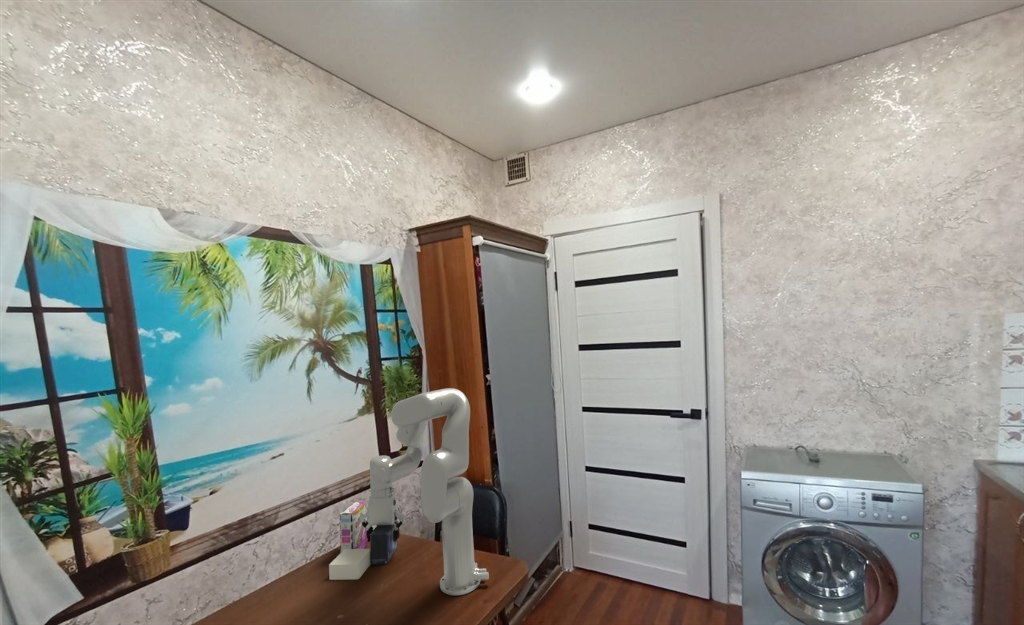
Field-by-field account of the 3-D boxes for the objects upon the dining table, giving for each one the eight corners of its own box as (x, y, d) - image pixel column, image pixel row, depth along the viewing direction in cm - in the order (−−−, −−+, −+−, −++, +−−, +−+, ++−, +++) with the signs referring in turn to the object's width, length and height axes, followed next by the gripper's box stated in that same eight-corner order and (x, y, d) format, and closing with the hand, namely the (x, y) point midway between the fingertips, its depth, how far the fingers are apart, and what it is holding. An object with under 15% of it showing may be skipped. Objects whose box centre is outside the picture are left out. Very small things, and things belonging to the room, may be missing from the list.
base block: (372, 563, 140) (371, 548, 140) (358, 580, 130) (357, 564, 130) (345, 563, 140) (344, 549, 141) (329, 580, 130) (329, 564, 131)
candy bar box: (353, 561, 141) (351, 513, 142) (340, 561, 142) (338, 514, 143) (368, 545, 152) (366, 501, 154) (355, 545, 153) (354, 501, 154)
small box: (388, 564, 137) (387, 533, 138) (370, 565, 137) (368, 534, 138) (398, 548, 148) (396, 519, 149) (380, 549, 148) (379, 520, 149)
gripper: (408, 487, 147) (410, 534, 146) (364, 488, 149) (365, 535, 148) (400, 495, 140) (402, 545, 139) (353, 496, 142) (355, 545, 140)
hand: (383, 540), depth 143 cm, fingers open, 9 cm apart
